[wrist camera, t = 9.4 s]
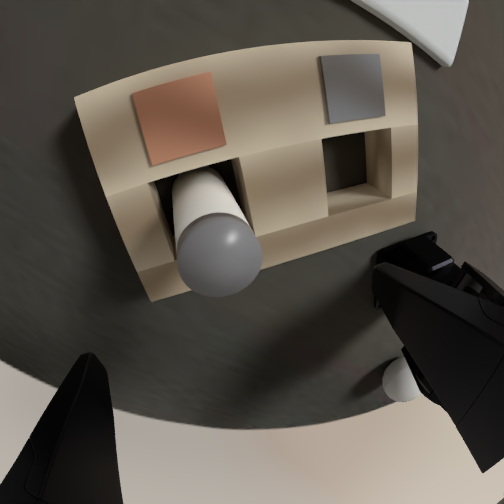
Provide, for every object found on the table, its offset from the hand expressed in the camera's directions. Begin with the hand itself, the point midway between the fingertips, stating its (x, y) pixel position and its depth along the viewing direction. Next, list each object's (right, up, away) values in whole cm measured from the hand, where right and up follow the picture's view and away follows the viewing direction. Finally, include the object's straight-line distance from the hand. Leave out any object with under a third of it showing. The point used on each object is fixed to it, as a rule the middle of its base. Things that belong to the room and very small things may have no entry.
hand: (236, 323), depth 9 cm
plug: (-3, +6, +9) cm, 11 cm away
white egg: (+19, -12, +27) cm, 35 cm away
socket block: (+1, +8, +9) cm, 12 cm away
